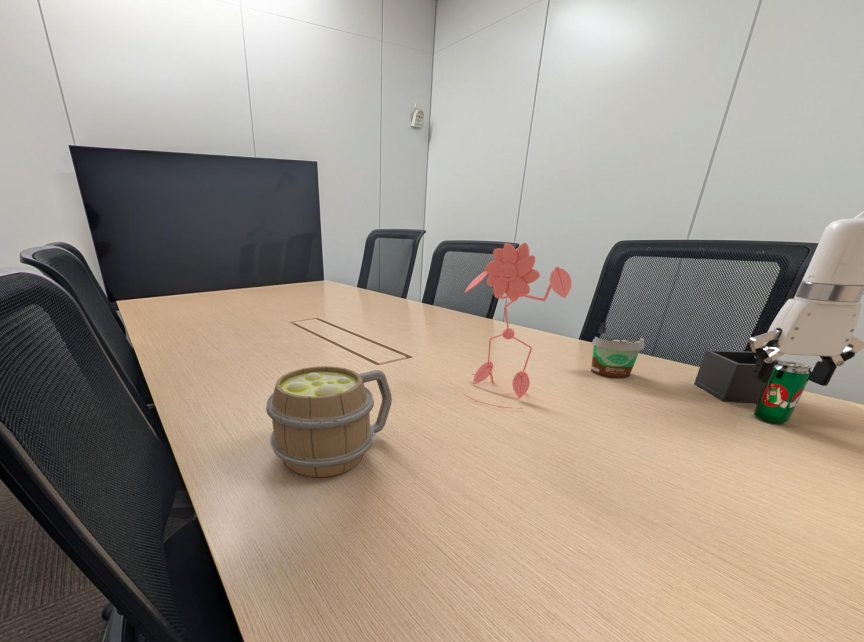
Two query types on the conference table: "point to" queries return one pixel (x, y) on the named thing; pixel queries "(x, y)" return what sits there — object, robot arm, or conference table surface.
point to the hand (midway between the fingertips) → (787, 381)
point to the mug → (325, 418)
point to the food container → (615, 357)
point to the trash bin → (730, 376)
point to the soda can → (782, 392)
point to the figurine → (515, 297)
